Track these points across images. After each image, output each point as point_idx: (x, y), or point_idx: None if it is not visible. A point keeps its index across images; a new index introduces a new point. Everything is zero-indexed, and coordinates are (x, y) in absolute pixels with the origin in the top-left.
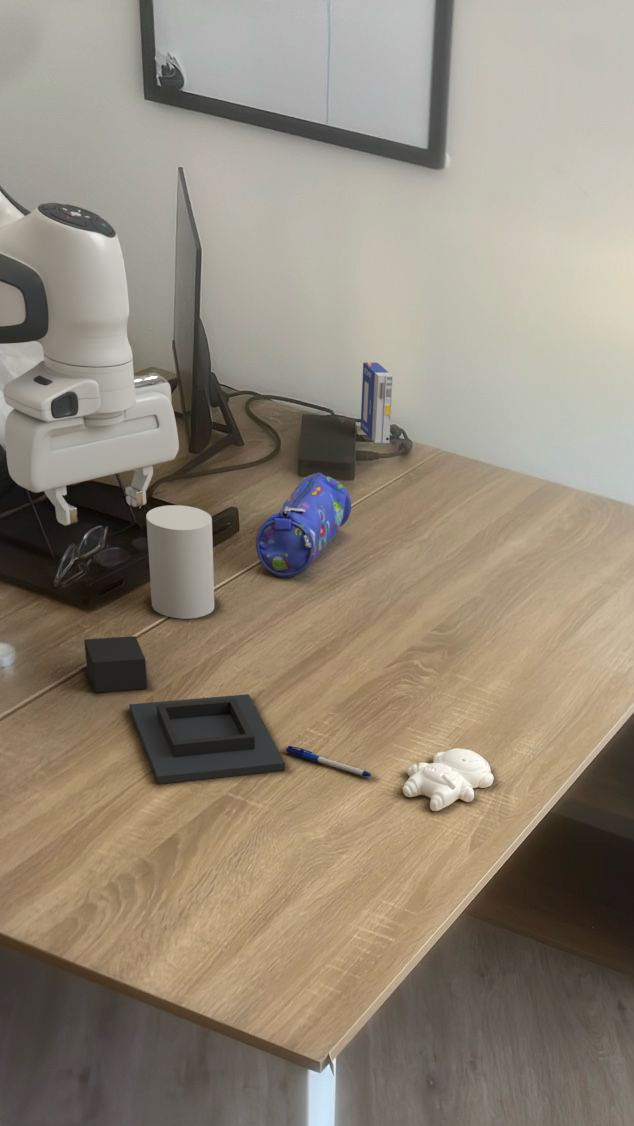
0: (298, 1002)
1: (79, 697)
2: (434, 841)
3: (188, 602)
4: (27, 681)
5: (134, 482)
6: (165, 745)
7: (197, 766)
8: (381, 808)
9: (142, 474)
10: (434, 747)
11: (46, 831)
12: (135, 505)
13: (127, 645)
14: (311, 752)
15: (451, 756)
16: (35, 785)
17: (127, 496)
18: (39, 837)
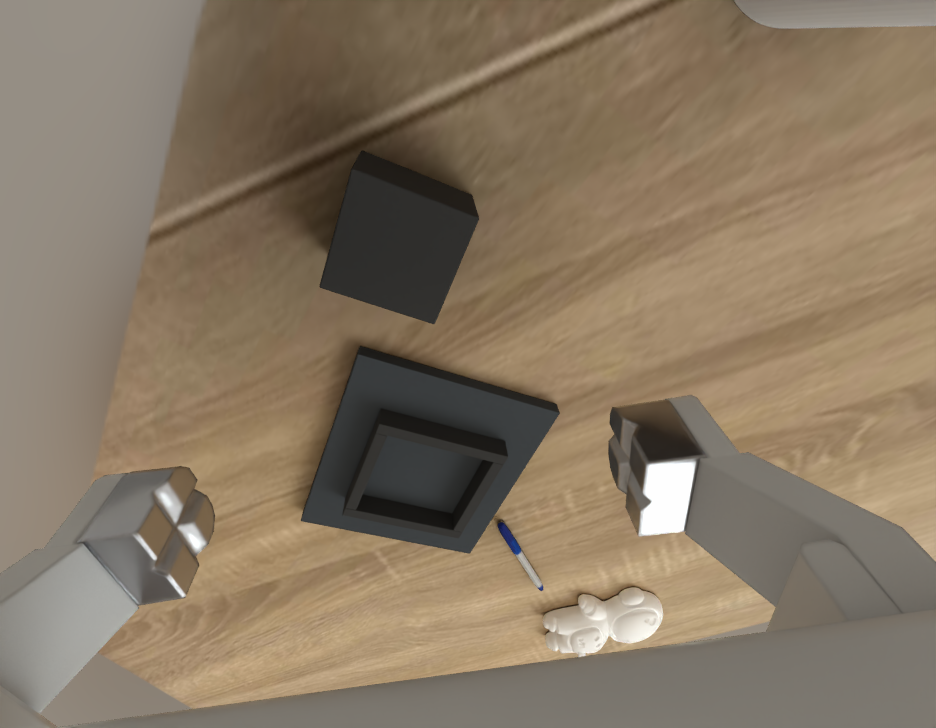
0: None
1: (294, 255)
2: (508, 657)
3: (780, 18)
4: (206, 127)
5: (727, 500)
6: (349, 472)
7: (363, 522)
8: (507, 617)
9: (767, 629)
10: (656, 569)
11: None
12: (611, 468)
13: (433, 254)
14: (514, 551)
15: (624, 632)
16: (132, 451)
17: (631, 431)
18: None
